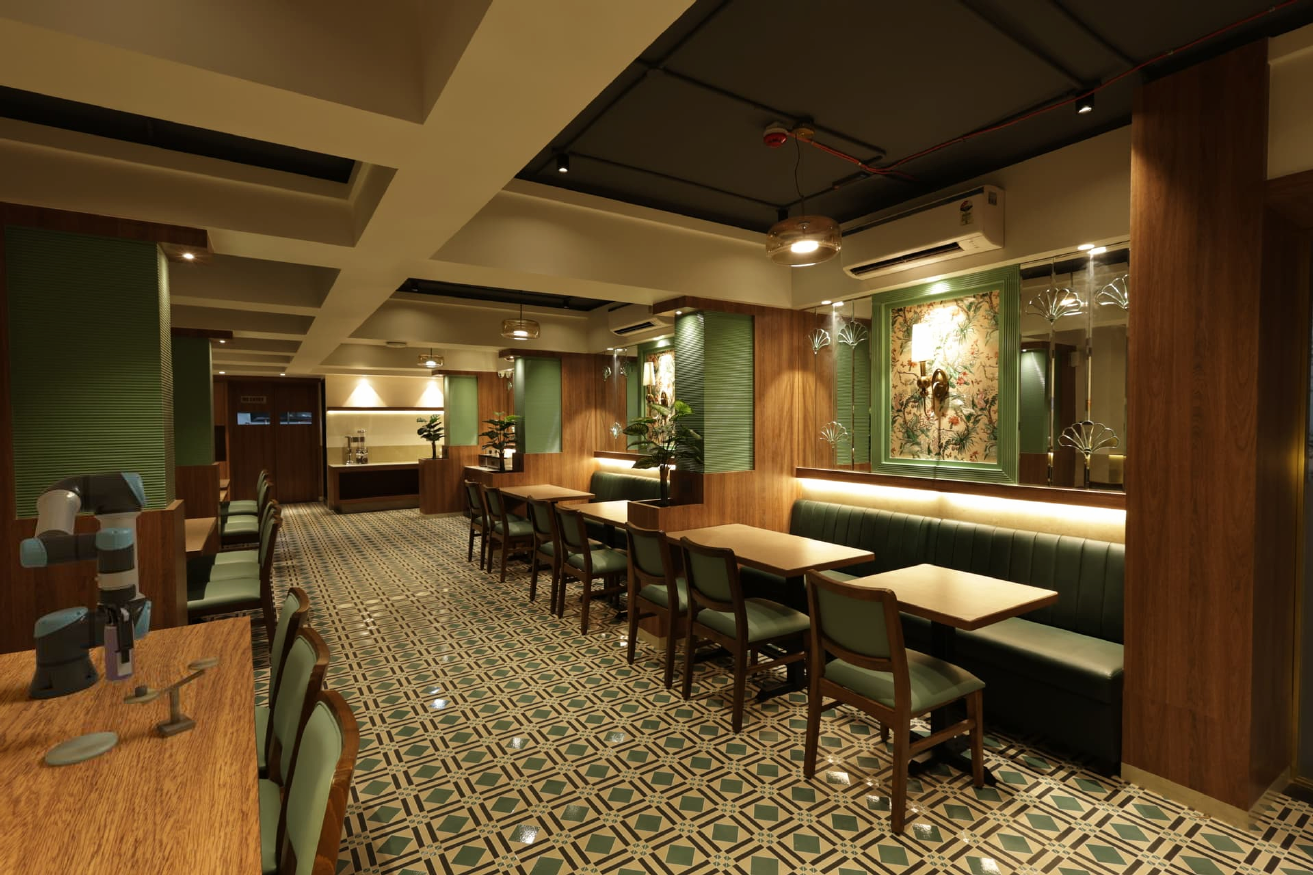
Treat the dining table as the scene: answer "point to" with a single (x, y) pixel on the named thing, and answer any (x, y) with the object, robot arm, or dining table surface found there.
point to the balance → (171, 699)
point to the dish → (81, 748)
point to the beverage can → (115, 655)
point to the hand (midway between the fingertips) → (120, 670)
